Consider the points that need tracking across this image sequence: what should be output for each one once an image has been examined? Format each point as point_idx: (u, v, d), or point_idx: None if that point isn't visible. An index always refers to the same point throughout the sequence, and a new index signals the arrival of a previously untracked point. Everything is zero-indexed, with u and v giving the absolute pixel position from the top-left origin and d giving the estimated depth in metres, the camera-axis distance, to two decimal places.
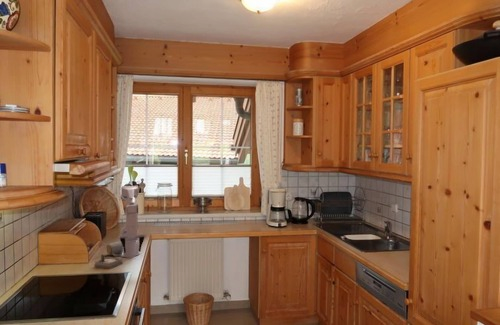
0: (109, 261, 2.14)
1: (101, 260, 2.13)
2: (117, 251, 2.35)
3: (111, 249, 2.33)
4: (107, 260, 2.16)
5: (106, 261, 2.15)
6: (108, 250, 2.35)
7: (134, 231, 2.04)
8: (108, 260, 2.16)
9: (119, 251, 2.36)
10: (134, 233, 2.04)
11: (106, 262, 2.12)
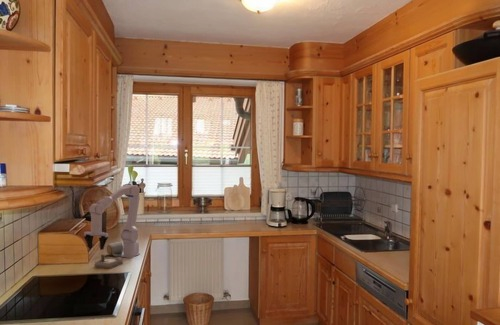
0: (109, 261, 2.14)
1: (101, 260, 2.13)
2: (117, 251, 2.35)
3: (111, 249, 2.33)
4: (107, 260, 2.16)
5: (106, 261, 2.15)
6: (108, 250, 2.35)
7: (95, 230, 2.11)
8: (108, 260, 2.16)
9: (119, 251, 2.36)
10: (95, 232, 2.11)
11: (106, 262, 2.12)
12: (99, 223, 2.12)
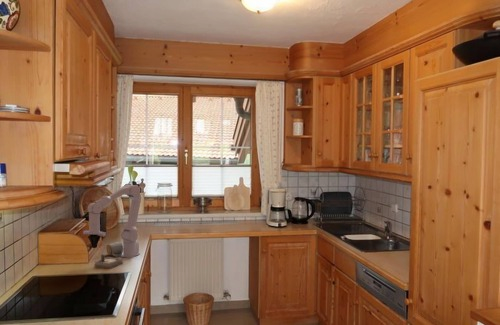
0: (109, 261, 2.14)
1: (101, 260, 2.13)
2: (117, 251, 2.35)
3: (111, 249, 2.33)
4: (107, 260, 2.16)
5: (106, 261, 2.15)
6: (108, 250, 2.35)
7: (92, 229, 2.14)
8: (108, 260, 2.16)
9: (119, 251, 2.36)
10: (92, 231, 2.14)
11: (106, 262, 2.12)
12: (96, 222, 2.15)
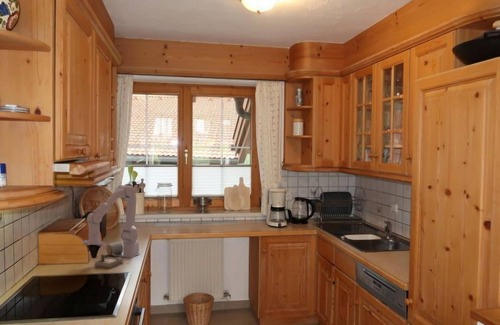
0: (109, 261, 2.14)
1: (101, 260, 2.13)
2: (117, 251, 2.35)
3: (111, 249, 2.33)
4: (107, 260, 2.16)
5: (106, 261, 2.15)
6: (108, 250, 2.35)
7: (92, 239, 2.12)
8: (108, 260, 2.16)
9: (119, 251, 2.36)
10: (92, 241, 2.12)
11: (106, 262, 2.12)
12: (96, 232, 2.13)
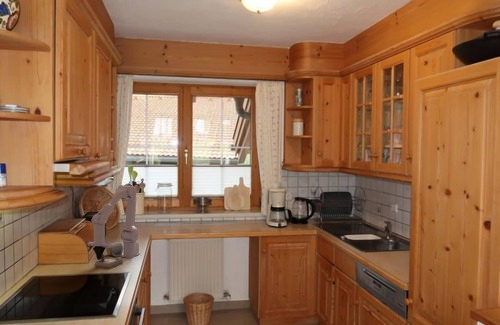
0: (109, 261, 2.14)
1: (101, 260, 2.13)
2: (117, 251, 2.35)
3: (111, 249, 2.32)
4: (107, 260, 2.16)
5: (106, 261, 2.15)
6: (108, 250, 2.35)
7: (97, 241, 2.11)
8: (108, 260, 2.16)
9: (119, 251, 2.36)
10: (97, 243, 2.11)
11: (106, 262, 2.12)
12: (102, 234, 2.12)
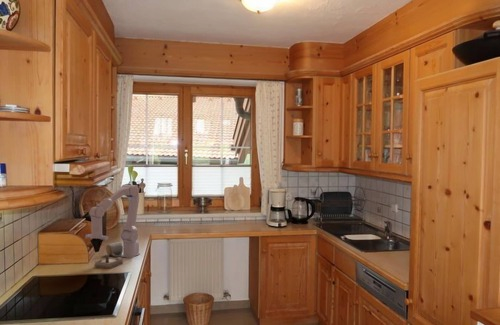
0: (111, 260, 2.15)
1: (106, 261, 2.11)
2: (117, 251, 2.35)
3: (111, 249, 2.32)
4: None
5: None
6: (108, 250, 2.35)
7: (95, 233, 2.12)
8: None
9: (119, 251, 2.36)
10: (95, 235, 2.12)
11: (112, 261, 2.14)
12: (99, 226, 2.13)
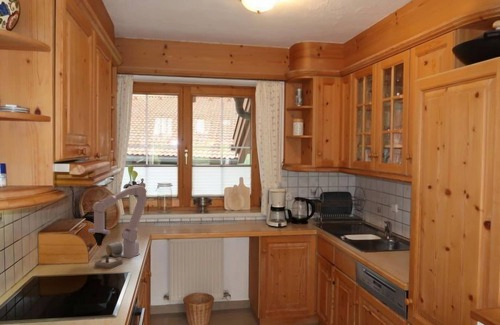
0: (111, 260, 2.15)
1: (106, 261, 2.11)
2: (117, 251, 2.35)
3: (110, 249, 2.32)
4: None
5: None
6: (107, 250, 2.34)
7: (97, 227, 2.19)
8: None
9: (119, 251, 2.35)
10: (97, 229, 2.19)
11: (112, 261, 2.14)
12: (100, 221, 2.20)
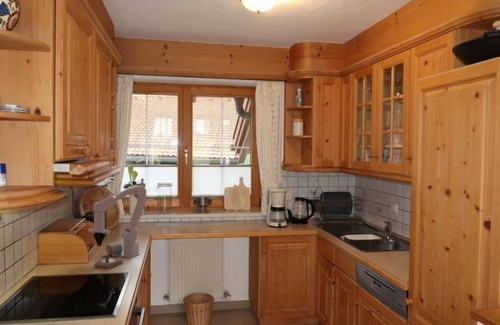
0: (111, 260, 2.15)
1: (106, 261, 2.11)
2: (116, 251, 2.34)
3: (110, 249, 2.32)
4: None
5: None
6: (107, 250, 2.34)
7: (97, 227, 2.19)
8: None
9: (118, 251, 2.35)
10: (97, 229, 2.19)
11: (112, 261, 2.14)
12: (100, 221, 2.20)
